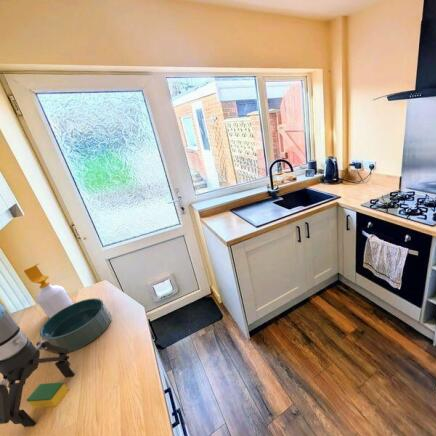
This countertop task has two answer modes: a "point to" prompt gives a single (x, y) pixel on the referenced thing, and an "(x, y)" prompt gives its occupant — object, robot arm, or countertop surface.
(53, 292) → the soap bottle
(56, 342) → the bowl
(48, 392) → the sponge
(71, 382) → the countertop surface
